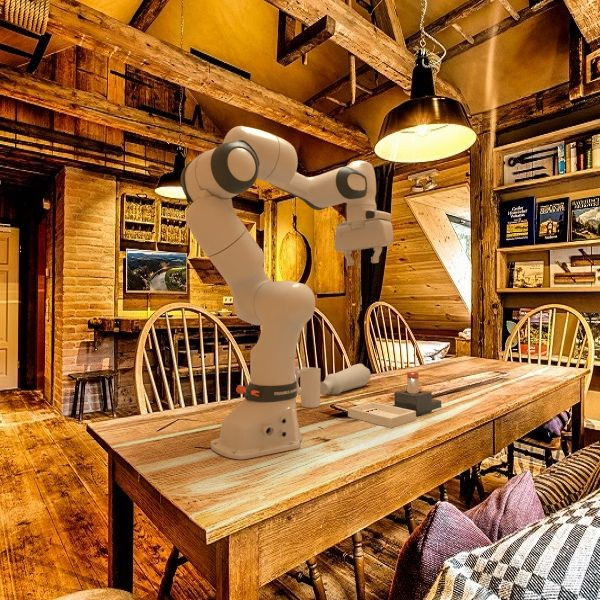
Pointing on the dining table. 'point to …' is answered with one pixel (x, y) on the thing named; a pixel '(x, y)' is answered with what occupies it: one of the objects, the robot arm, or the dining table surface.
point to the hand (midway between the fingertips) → (362, 264)
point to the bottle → (345, 380)
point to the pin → (412, 382)
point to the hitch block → (416, 401)
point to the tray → (382, 414)
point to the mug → (309, 387)
